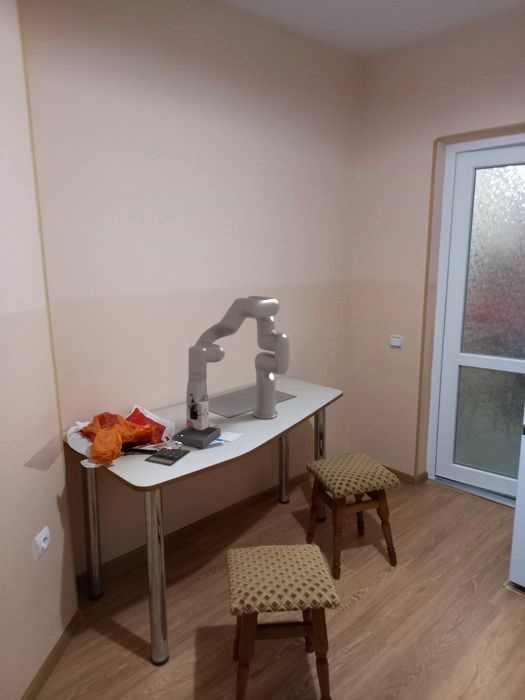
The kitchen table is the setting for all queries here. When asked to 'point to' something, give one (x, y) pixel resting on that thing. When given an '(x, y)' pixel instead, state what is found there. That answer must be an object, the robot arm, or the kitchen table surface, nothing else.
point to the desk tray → (197, 436)
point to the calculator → (167, 456)
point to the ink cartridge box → (200, 415)
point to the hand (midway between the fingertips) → (197, 416)
